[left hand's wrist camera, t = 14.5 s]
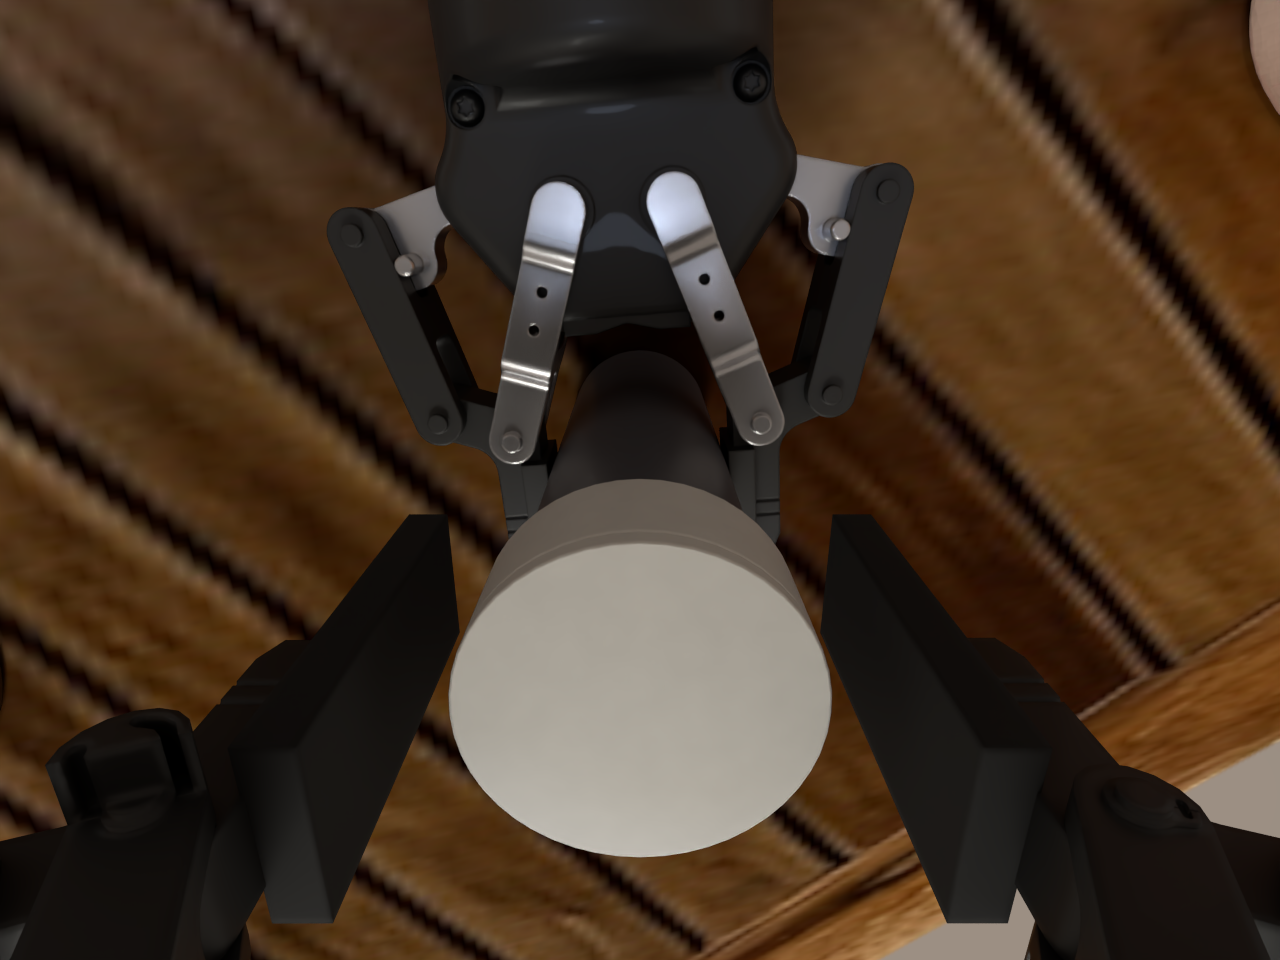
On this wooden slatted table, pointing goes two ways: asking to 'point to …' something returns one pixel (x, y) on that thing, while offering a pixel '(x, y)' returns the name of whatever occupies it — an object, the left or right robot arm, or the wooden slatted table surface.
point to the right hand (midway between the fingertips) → (648, 562)
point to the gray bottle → (640, 430)
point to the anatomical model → (1266, 46)
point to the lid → (640, 673)
